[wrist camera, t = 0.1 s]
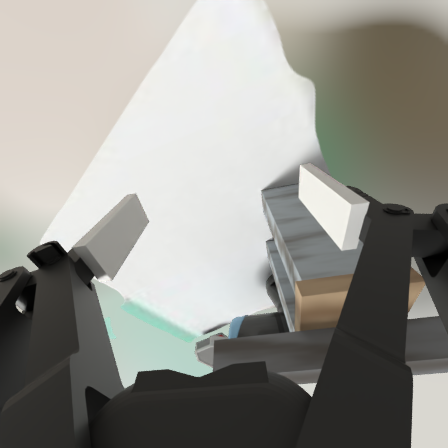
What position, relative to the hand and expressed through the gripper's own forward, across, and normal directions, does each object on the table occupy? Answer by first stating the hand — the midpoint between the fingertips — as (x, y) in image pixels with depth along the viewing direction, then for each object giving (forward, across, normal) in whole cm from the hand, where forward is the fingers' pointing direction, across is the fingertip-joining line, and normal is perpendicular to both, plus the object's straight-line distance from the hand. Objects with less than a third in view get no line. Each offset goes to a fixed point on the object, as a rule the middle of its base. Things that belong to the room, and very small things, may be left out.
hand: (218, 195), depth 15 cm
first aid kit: (+29, +15, +84) cm, 90 cm away
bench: (+28, -13, +24) cm, 39 cm away
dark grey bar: (-2, -11, +21) cm, 24 cm away
